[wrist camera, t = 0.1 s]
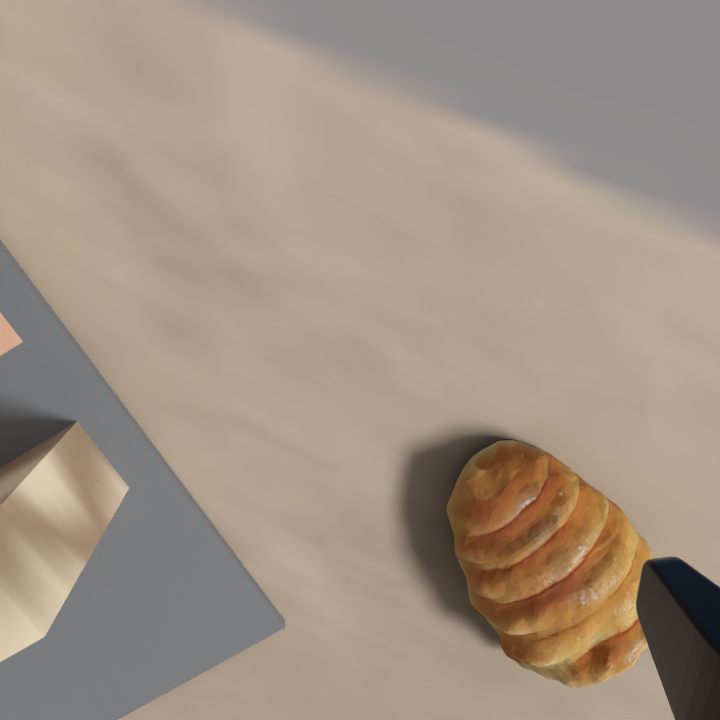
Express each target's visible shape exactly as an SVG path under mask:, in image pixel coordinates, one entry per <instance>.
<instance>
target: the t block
mask: <svg viewBox="0 0 720 720" xmlns="http://www.w3.org/2000/svg"><path fill="white" fill-rule="evenodd" d="M128 489H129V487H128V486H127V484H126V483H125V482H124V481H123V479H122V478H121V477H120V475H119V474H118V473H117V472H116V470H115V469H114V468H113V466H112V465H111V464H110V463H109V461H108V460H107V459H106V457H105V456H104V455H103V454H102V452H101V451H100V450H99V448H98V447H97V446H96V445H95V443H94V442H93V441H92V439H91V438H90V437H89V436H88V434H87V433H86V432H85V430H84V429H83V428H82V427H81V425H80V424H79V423H78V421H77V422H75V423H74V424H72V425H70V426H69V427H67V428H65V429H64V430H62V431H60V432H59V433H57V434H55V435H54V436H52V437H50V438H49V439H47V440H45V441H44V442H42V443H40V444H39V445H37V446H35V447H34V448H32V449H30V450H29V451H27V452H25V453H24V454H22V455H20V456H19V457H17V458H15V459H14V460H12V461H10V462H9V463H7V464H5V465H4V466H2V467H0V662H1V661H3V660H5V659H7V658H8V657H10V656H12V655H14V654H15V653H17V652H19V651H21V650H22V649H24V648H26V647H28V646H29V645H31V644H33V643H35V642H36V641H38V640H40V639H42V638H43V637H45V635H46V633H47V632H48V630H49V628H50V626H51V625H52V623H53V621H54V619H55V618H56V616H57V614H58V612H59V611H60V609H61V607H62V605H63V604H64V602H65V600H66V598H67V597H68V595H69V593H70V591H71V589H72V588H73V586H74V584H75V582H76V581H77V579H78V577H79V575H80V574H81V572H82V570H83V568H84V567H85V565H86V563H87V561H88V560H89V558H90V556H91V554H92V553H93V551H94V549H95V547H96V545H97V544H98V542H99V540H100V538H101V537H102V535H103V533H104V531H105V530H106V528H107V526H108V524H109V523H110V521H111V519H112V517H113V516H114V514H115V512H116V510H117V508H118V507H119V505H120V503H121V501H122V500H123V498H124V496H125V494H126V493H127V491H128Z"/></svg>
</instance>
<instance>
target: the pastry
mask: <svg viewBox="0 0 720 720" xmlns="http://www.w3.org/2000/svg"><path fill="white" fill-rule="evenodd" d="M446 510H447V515H448V518H449V521H450V525H451V528H452V530H453V533H454V538H455V554H456V557H457V559H458V562H459V564H460V567H461V568H462V570H463V572H464V574H465V577H466V579H467V586H468V596H469V599H470V603H471V605H472V606H473V607H474V608H475V609H476V610H477V611H478V612H479V613H480V614H482V615H483V616H484V617H485V618H486V619H487V621H488V623H489V624H490V625H491V626H492V627H493V629H494V630H495V631H496V633H497V634H498V636H499V638H500V641H501V647H502V649H503V651H504V652H505V654H506V655H507V656H508V657H509V658H511V659H513V660H515V661H516V662H517V663H518V664H519V665H520V666H521V667H523V668H525V669H527V670H530V671H535V672H536V673H538V674H539V675H541V676H543V677H545V678H548V679H552V680H557V681H560V682H561V683H563V684H565V685H566V686H569V687H587V686H591V685H594V684H597V683H600V682H604V681H606V680H607V679H609V678H611V677H613V676H615V675H617V674H619V673H621V672H623V671H625V670H627V669H628V668H630V667H632V666H633V664H634V663H635V662H636V661H637V659H638V657H639V656H640V654H641V652H642V651H643V649H645V648H646V647H648V644H647V641H646V638H645V636H644V633H643V630H642V627H641V625H640V622H639V619H638V615H637V610H636V598H637V593H638V587H639V582H640V577H641V571H642V567H643V564H644V563H645V562H646V561H647V560H649V559H653V558H652V555H651V551H650V548H649V546H648V544H647V542H646V540H644V539H643V538H642V537H641V536H640V535H639V534H638V533H637V532H636V531H635V529H634V526H633V525H632V524H631V523H630V522H629V521H628V519H627V517H626V515H625V514H624V512H623V511H622V510H621V509H620V508H619V507H618V506H617V505H616V504H615V503H613V502H612V501H610V500H609V499H608V498H606V497H605V496H604V495H603V494H602V493H601V492H599V491H598V490H596V489H595V488H593V487H592V486H590V485H589V484H588V483H586V482H585V481H584V480H583V479H582V478H581V477H579V476H578V475H577V474H576V473H574V472H573V471H572V470H571V469H570V468H569V467H568V466H566V465H565V464H563V463H562V462H561V461H559V460H558V459H556V458H555V457H554V456H552V455H551V454H549V453H548V452H546V451H543V450H541V449H538V448H535V447H532V446H529V445H527V444H524V443H522V442H519V441H514V440H504V441H497V442H495V443H493V444H492V445H490V446H489V447H487V448H485V449H483V450H481V451H479V452H478V453H476V454H475V455H474V456H473V457H472V458H471V459H470V460H469V461H468V462H467V464H466V465H465V466H464V468H463V470H462V471H461V473H460V475H459V477H458V479H457V482H456V484H455V487H454V490H453V492H452V494H451V496H450V499H449V501H448V504H447V508H446Z"/></svg>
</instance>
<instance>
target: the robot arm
mask: <svg viewBox="0 0 720 720" xmlns="http://www.w3.org/2000/svg"><path fill="white" fill-rule="evenodd" d="M636 610H637V615H638V619H639V622H640V625H641V627H642V630H643V633H644V636H645V638H646V641H647V644H648V647H649V649H650V652H651V655H652V658H653V660H654V663H655V666H656V668H657V671H658V674H659V677H660V679H661V682H662V685H663V688H664V690H665V693H666V696H667V699H668V701H669V704H670V707H671V710H672V712H673V715H674V718H675V720H720V587H719V586H717V585H716V584H715V583H713V582H712V581H711V580H709V579H708V578H706V577H705V576H704V575H702V574H701V573H700V572H698V571H697V570H695V569H694V568H693V567H691V566H690V565H689V564H687V563H686V562H684V561H683V560H681V559H679V558H677V557H663V558H655V559H649V560H647V561H646V562H645V563H644V564H643V567H642V571H641V577H640V582H639V587H638V593H637V598H636Z"/></svg>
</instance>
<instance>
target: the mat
mask: <svg viewBox="0 0 720 720" xmlns="http://www.w3.org/2000/svg"><path fill="white" fill-rule="evenodd" d="M77 421H78V423H79V424H80V425H81V427H82V428H83V429H84V430H85V432H86V433H87V434H88V436H89V437H90V438H91V439H92V441H93V442H94V443H95V445H96V446H97V447H98V448H99V450H100V451H101V452H102V454H103V455H104V456H105V457H106V459H107V460H108V461H109V463H110V464H111V465H112V466H113V468H114V469H115V470H116V472H117V473H118V474H119V475H120V477H121V478H122V479H123V481H124V482H125V483H126V484H127V486H128V487H129V489H128V491H127V493H126V494H125V496H124V498H123V500H122V501H121V503H120V505H119V507H118V508H117V510H116V512H115V514H114V516H113V517H112V519H111V521H110V523H109V524H108V526H107V528H106V530H105V531H104V533H103V535H102V537H101V538H100V540H99V542H98V544H97V545H96V547H95V549H94V551H93V553H92V554H91V556H90V558H89V560H88V561H87V563H86V565H85V567H84V568H83V570H82V572H81V574H80V575H79V577H78V579H77V581H76V582H75V584H74V586H73V588H72V589H71V591H70V593H69V595H68V597H67V598H66V600H65V602H64V604H63V605H62V607H61V609H60V611H59V612H58V614H57V616H56V618H55V619H54V621H53V623H52V625H51V626H50V628H49V630H48V632H47V633H46V635H45V637H43V638H42V639H40V640H38V641H36V642H35V643H33V644H31V645H29V646H28V647H26V648H24V649H22V650H21V651H19V652H17V653H15V654H14V655H12V656H10V657H8V658H7V659H5V660H3V661H1V662H0V720H118V719H120V718H121V717H123V716H125V715H127V714H129V713H130V712H132V711H134V710H136V709H138V708H140V707H141V706H143V705H145V704H147V703H149V702H150V701H152V700H154V699H156V698H158V697H160V696H161V695H163V694H165V693H167V692H169V691H170V690H172V689H174V688H176V687H178V686H180V685H181V684H183V683H185V682H187V681H189V680H190V679H192V678H194V677H196V676H198V675H200V674H201V673H203V672H205V671H207V670H209V669H210V668H212V667H214V666H216V665H218V664H219V663H221V662H223V661H225V660H227V659H229V658H230V657H232V656H234V655H236V654H238V653H239V652H241V651H243V650H245V649H247V648H249V647H250V646H252V645H254V644H256V643H258V642H259V641H261V640H263V639H265V638H267V637H269V636H270V635H272V634H274V633H276V632H278V631H279V630H281V629H283V628H285V620H284V619H283V618H282V616H281V615H280V614H279V612H278V611H277V610H276V608H275V607H274V606H273V604H272V603H271V602H270V600H269V599H268V598H267V596H266V595H265V594H264V592H263V591H262V590H261V588H260V587H259V586H258V584H257V583H256V582H255V580H254V579H253V578H252V576H251V575H250V574H249V572H248V571H247V570H246V568H245V567H244V566H243V564H242V563H241V562H240V560H239V559H238V558H237V556H236V555H235V554H234V552H233V551H232V550H231V548H230V547H229V545H228V544H227V543H226V541H225V540H224V539H223V537H222V536H221V535H220V533H219V532H218V531H217V529H216V528H215V527H214V525H213V524H212V523H211V521H210V520H209V519H208V517H207V516H206V515H205V513H204V512H203V511H202V509H201V508H200V507H199V505H198V504H197V503H196V501H195V500H194V499H193V497H192V496H191V495H190V493H189V492H188V491H187V489H186V488H185V487H184V485H183V484H182V483H181V481H180V480H179V479H178V477H177V476H176V475H175V473H174V472H173V471H172V469H171V468H170V467H169V465H168V464H167V463H166V461H165V460H164V459H163V457H162V456H161V455H160V453H159V452H158V451H157V449H156V448H155V447H154V445H153V444H152V443H151V441H150V440H149V438H148V437H147V436H146V434H145V433H144V432H143V430H142V429H141V428H140V426H139V425H138V424H137V422H136V421H135V420H134V418H133V417H132V416H131V414H130V413H129V412H128V410H127V409H126V408H125V406H124V405H123V404H122V402H121V401H120V400H119V398H118V397H117V396H116V394H115V393H114V392H113V390H112V389H111V388H110V386H109V385H108V384H107V382H106V381H105V380H104V378H103V377H102V376H101V374H100V373H99V372H98V370H97V369H96V368H95V366H94V365H93V364H92V362H91V361H90V360H89V358H88V357H87V356H86V354H85V353H84V352H83V350H82V349H81V348H80V346H79V345H78V344H77V342H76V341H75V340H74V338H73V337H72V336H71V334H70V333H69V331H68V330H67V329H66V327H65V326H64V325H63V323H62V322H61V321H60V319H59V318H58V317H57V315H56V314H55V313H54V311H53V310H52V309H51V307H50V306H49V305H48V303H47V302H46V301H45V299H44V298H43V297H42V295H41V294H40V293H39V291H38V290H37V289H36V287H35V286H34V285H33V283H32V282H31V281H30V279H29V278H28V277H27V275H26V274H25V273H24V271H23V270H22V269H21V267H20V266H19V265H18V263H17V262H16V261H15V259H14V258H13V257H12V255H11V254H10V253H9V251H8V250H7V249H6V247H5V246H4V245H3V243H2V242H1V241H0V467H2V466H4V465H5V464H7V463H9V462H10V461H12V460H14V459H15V458H17V457H19V456H20V455H22V454H24V453H25V452H27V451H29V450H30V449H32V448H34V447H35V446H37V445H39V444H40V443H42V442H44V441H45V440H47V439H49V438H50V437H52V436H54V435H55V434H57V433H59V432H60V431H62V430H64V429H65V428H67V427H69V426H70V425H72V424H74V423H75V422H77Z"/></svg>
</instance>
